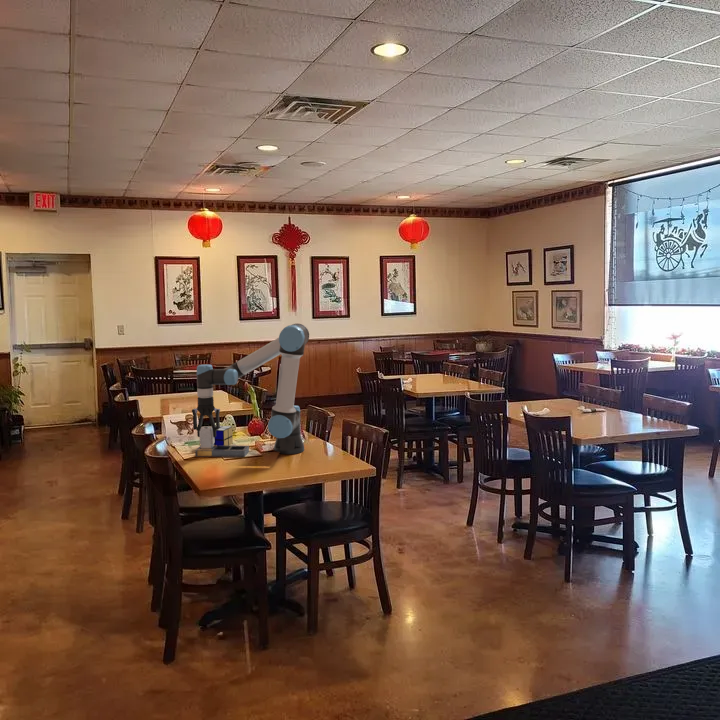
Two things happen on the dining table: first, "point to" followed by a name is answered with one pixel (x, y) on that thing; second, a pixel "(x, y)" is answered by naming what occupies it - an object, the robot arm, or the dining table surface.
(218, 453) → the grey compartment tray
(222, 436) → the puzzle cube
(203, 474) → the dining table surface
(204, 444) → the gray rectangular block
